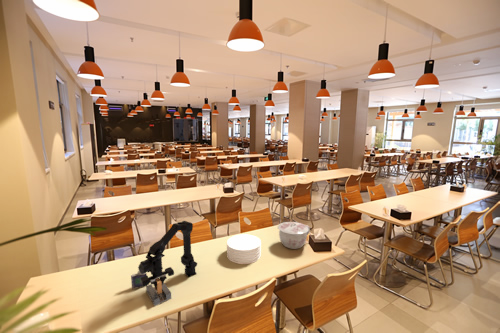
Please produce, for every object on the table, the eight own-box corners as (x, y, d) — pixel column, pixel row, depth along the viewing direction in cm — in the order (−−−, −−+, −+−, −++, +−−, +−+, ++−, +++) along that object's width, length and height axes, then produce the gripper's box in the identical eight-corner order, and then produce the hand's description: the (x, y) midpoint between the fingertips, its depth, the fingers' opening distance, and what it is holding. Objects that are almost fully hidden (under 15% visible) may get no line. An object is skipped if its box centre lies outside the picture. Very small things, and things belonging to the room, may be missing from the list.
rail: (162, 285, 155) (162, 279, 155) (171, 298, 143) (171, 292, 142) (146, 291, 149) (146, 286, 148) (154, 306, 137) (154, 300, 136)
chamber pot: (274, 250, 201) (274, 227, 198) (279, 236, 227) (280, 216, 224) (307, 255, 193) (309, 231, 190) (309, 240, 219) (310, 219, 216)
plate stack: (261, 264, 180) (261, 250, 178) (224, 263, 181) (224, 250, 179) (260, 246, 208) (260, 234, 206) (229, 246, 208) (228, 233, 207)
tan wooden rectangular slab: (158, 287, 149) (158, 276, 147) (162, 292, 144) (161, 281, 143) (154, 289, 147) (154, 278, 146) (158, 294, 142) (157, 283, 141)
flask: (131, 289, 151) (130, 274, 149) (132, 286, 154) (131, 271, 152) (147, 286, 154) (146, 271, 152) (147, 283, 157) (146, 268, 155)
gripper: (167, 254, 155) (168, 276, 157) (137, 265, 143) (138, 288, 146) (173, 262, 146) (174, 285, 149) (142, 273, 135) (143, 298, 137)
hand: (158, 288), depth 145 cm, fingers closed on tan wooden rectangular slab, 2 cm apart
